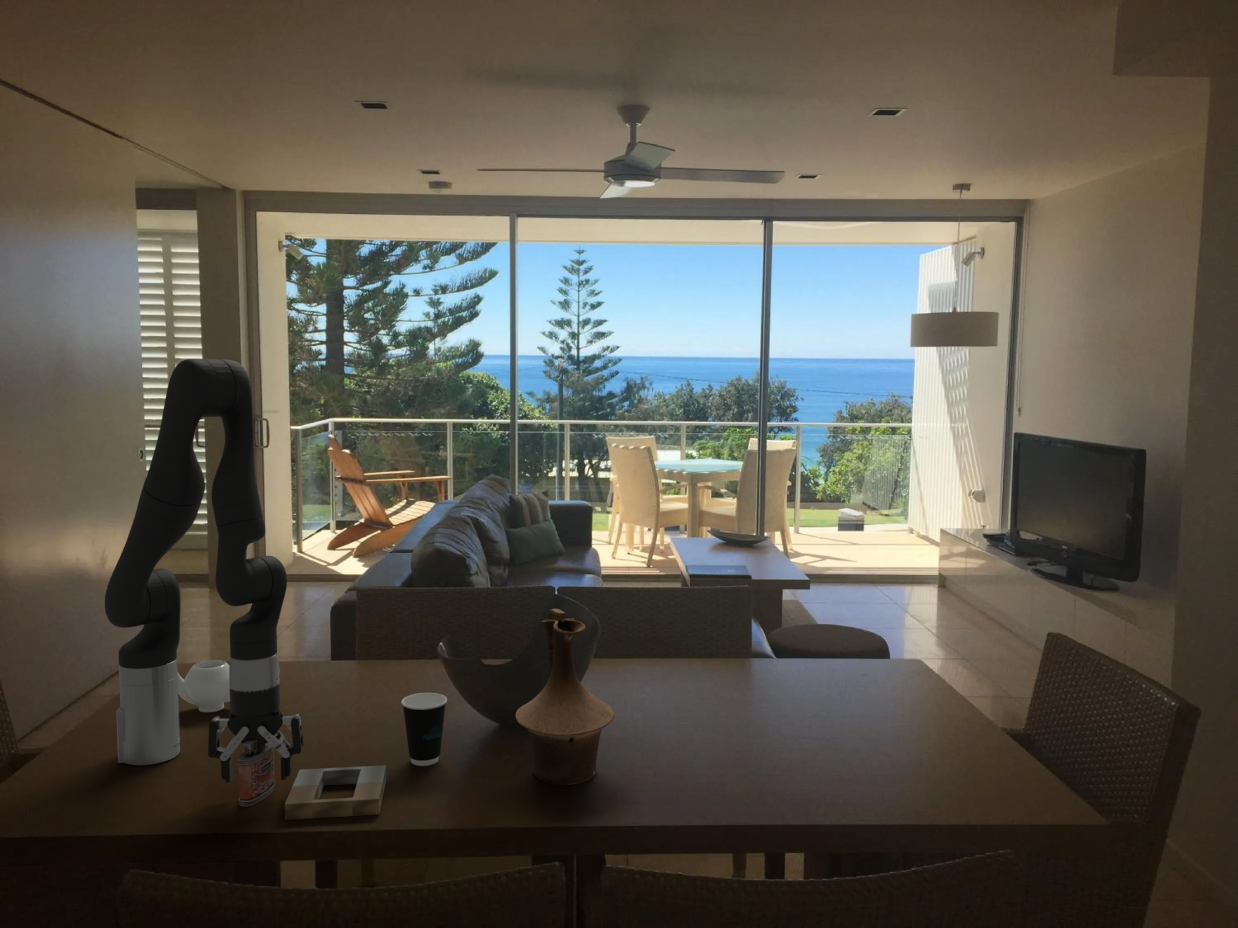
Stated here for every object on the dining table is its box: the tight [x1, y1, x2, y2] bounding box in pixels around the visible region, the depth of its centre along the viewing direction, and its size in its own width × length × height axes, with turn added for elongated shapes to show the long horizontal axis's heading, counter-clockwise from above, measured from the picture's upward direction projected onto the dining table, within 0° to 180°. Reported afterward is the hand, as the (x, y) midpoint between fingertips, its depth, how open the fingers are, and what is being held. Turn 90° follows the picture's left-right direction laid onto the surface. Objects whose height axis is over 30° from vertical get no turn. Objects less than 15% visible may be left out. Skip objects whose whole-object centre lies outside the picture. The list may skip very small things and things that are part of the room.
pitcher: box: [515, 608, 615, 786], centre depth 165 cm, size 18×17×28 cm
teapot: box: [177, 659, 230, 713], centre depth 196 cm, size 10×20×9 cm, turn 95°
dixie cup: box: [401, 692, 448, 767], centre depth 171 cm, size 8×8×11 cm
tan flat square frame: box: [284, 764, 387, 821], centre depth 155 cm, size 14×13×2 cm
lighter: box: [237, 739, 277, 807], centre depth 156 cm, size 8×3×10 cm, turn 168°
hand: (257, 779), depth 156 cm, fingers open, 8 cm apart
